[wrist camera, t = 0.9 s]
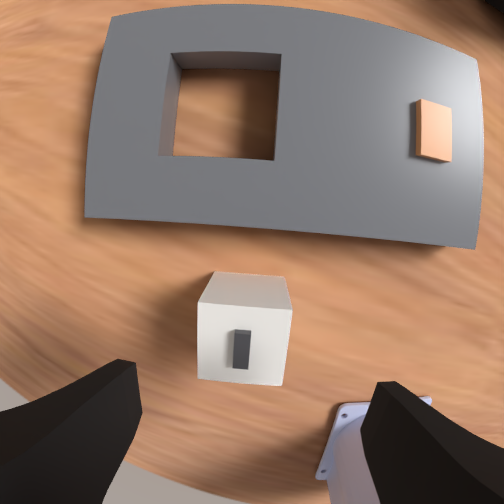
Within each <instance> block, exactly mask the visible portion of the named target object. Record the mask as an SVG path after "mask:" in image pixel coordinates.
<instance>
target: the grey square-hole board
mask: <svg viewBox="0 0 504 504" xmlns="http://www.w3.org/2000/svg"><path fill="white" fill-rule="evenodd" d="M207 68H222V69H253V70H269V71H279V81H278V96H277V111H276V125H275V139H274V153H273V161H271V160H258V159H243V158H225V157H200V156H173V146H174V135H175V124H176V115H177V106H178V97H179V89H180V82H181V74H182V69H207ZM483 165H484V131H483V110H482V97H481V87H480V78H479V71H478V64H477V60H476V59H474V58H472V57H470V56H468V55H466V54H464V53H461V52H459V51H457V50H455V49H452V48H450V47H447V46H445V45H443V44H440V43H438V42H435V41H432V40H430V39H427V38H424V37H422V36H419V35H416V34H413V33H410V32H407V31H404V30H400V29H397V28H394V27H390V26H387V25H383V24H380V23H376V22H372V21H368V20H364V19H359V18H355V17H350V16H346V15H340V14H335V13H330V12H324V11H317V10H310V9H302V8H294V7H284V6H271V5H252V4H212V5H193V6H180V7H170V8H162V9H154V10H147V11H141V12H135V13H129V14H124V15H119V16H114V17H112V18H111V22H110V25H109V29H108V33H107V37H106V41H105V45H104V49H103V53H102V58H101V62H100V67H99V72H98V77H97V82H96V88H95V94H94V100H93V107H92V114H91V122H90V130H89V139H88V150H87V163H86V179H85V217H88V218H110V219H129V220H148V221H165V222H181V223H197V224H212V225H226V226H240V227H253V228H266V229H278V230H290V231H302V232H313V233H324V234H335V235H346V236H356V237H366V238H376V239H386V240H395V241H405V242H414V243H423V244H432V245H440V246H449V247H457V248H465V249H473V250H475V247H476V241H477V234H478V227H479V219H480V210H481V200H482V187H483Z"/></svg>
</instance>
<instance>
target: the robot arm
mask: <svg viewBox="0 0 504 504" xmlns="http://www.w3.org/2000/svg"><path fill="white" fill-rule="evenodd" d="M431 402H432V399H431V398H430V397H429V396H425V397H417V396H416V395H415V394H413V393H412V392H410V391H409V390H408V389H406V388H405V387H403V386H402V385H400V384H399V383H397V382H395V381H390V382H377V385H376V388H375V391H374V394H373V397H372V399H371V402H360V403H344V404H342V405H341V406H339V408H338V411H337V414H336V417H335V421H334V424H333V427H332V430H331V433H330V436H329V439H328V442H327V445H326V447H325V450H324V453H323V456H322V458H321V461H320V464H319V467H318V469H317V472H316V474H315V477H316V479H317V480H327V485H328V490H329V496H330V502H331V504H504V448H501V447H499V446H497V445H494V444H492V443H490V442H488V441H486V440H484V439H482V438H480V437H478V436H476V435H474V434H472V433H471V432H469V431H467V430H466V429H464V428H462V427H461V426H459V425H458V424H456V423H454V422H453V421H451V420H450V419H448V418H447V417H445V416H444V415H442V414H441V413H440V412H438V411H437V410H435V409H434V408H433V407H431V406H430V405H431ZM342 414H345V415H342ZM141 415H142V406H141V400H140V393H139V385H138V377H137V369H136V363H135V362H130V361H126V360H121V359H116V360H114V361H112V362H110V363H108V364H106V365H104V366H103V367H101V368H99V369H97V370H95V371H93V372H92V373H90V374H88V375H86V376H84V377H82V378H81V379H79V380H77V381H75V382H73V383H71V384H69V385H67V386H65V387H63V388H61V389H59V390H57V391H55V392H52V393H50V394H48V395H46V396H44V397H42V398H39V399H37V400H35V401H32V402H29V403H27V404H24V405H21V406H18V407H15V408H12V409H9V410H5V411H1V412H0V504H102V502H103V499H104V497H105V495H106V492H107V490H108V488H109V486H110V484H111V482H112V480H113V478H114V476H115V474H116V472H117V470H118V468H119V466H120V464H121V462H122V461H123V459H124V457H125V455H126V453H127V451H128V449H129V447H130V445H131V443H132V441H133V439H134V436H135V433H136V430H137V428H138V425H139V422H140V418H141Z"/></svg>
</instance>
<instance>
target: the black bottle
mask: <svg viewBox="0 0 504 504" xmlns="http://www.w3.org/2000/svg"><path fill="white" fill-rule="evenodd" d="M485 1H486V2H487V3H489V4H490V5H492V6H493V7H495V8H496V9H498V10H499V11H501V12H503V13H504V0H485Z"/></svg>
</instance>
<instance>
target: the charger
mask: <svg viewBox="0 0 504 504" xmlns="http://www.w3.org/2000/svg"><path fill="white" fill-rule="evenodd" d="M292 311H293V309H292V305H291V301H290V297H289V293H288V289H287V284H286V280H285V277H283V276H269V275H256V274H244V273H231V272H219V271H215V272H214V274H213V275H212V277H211V279H210V281H209V283H208V284H207V286H206V288H205V290H204V292H203V293H202V295H201V297H200V299H199V301H198V324H197V358H198V379H205V380H214V381H223V382H233V383H245V384H258V385H274V386H282V382H283V375H284V368H285V362H286V355H287V348H288V341H289V334H290V326H291V319H292Z"/></svg>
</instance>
